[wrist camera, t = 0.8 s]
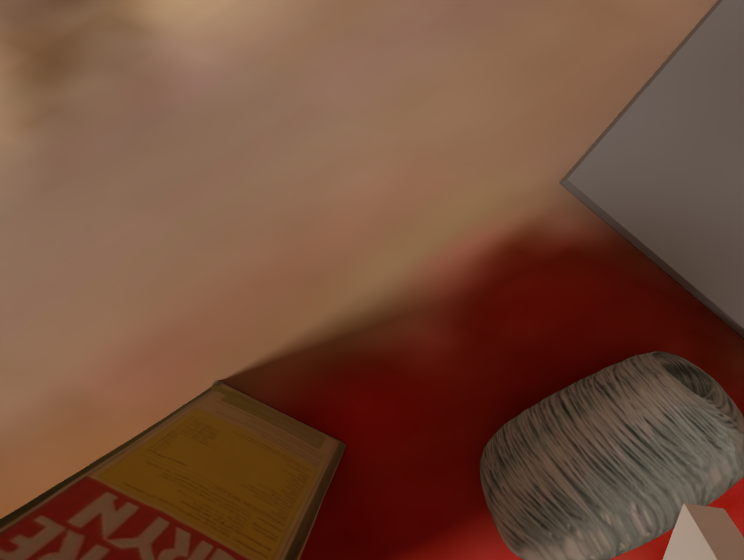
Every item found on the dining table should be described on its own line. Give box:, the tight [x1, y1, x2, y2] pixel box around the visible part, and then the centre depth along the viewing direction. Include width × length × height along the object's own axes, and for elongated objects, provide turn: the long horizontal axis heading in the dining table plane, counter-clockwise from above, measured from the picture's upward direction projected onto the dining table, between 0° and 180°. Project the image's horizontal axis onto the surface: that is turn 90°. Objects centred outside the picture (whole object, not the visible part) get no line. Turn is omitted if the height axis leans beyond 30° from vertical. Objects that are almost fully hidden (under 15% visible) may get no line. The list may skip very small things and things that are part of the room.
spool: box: [480, 351, 744, 560], centre depth 35 cm, size 14×10×10 cm
